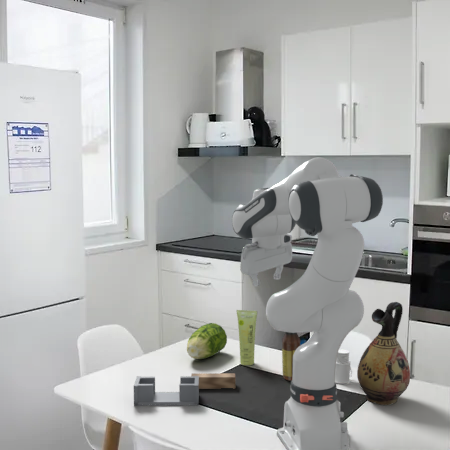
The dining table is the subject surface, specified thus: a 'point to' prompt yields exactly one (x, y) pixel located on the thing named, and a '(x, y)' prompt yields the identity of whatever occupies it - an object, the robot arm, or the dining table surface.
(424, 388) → the dining table surface
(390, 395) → the ceramic jug
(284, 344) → the sauce bottle
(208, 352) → the lettuce
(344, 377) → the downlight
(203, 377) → the slat
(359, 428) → the dining table surface
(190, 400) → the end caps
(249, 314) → the tube
